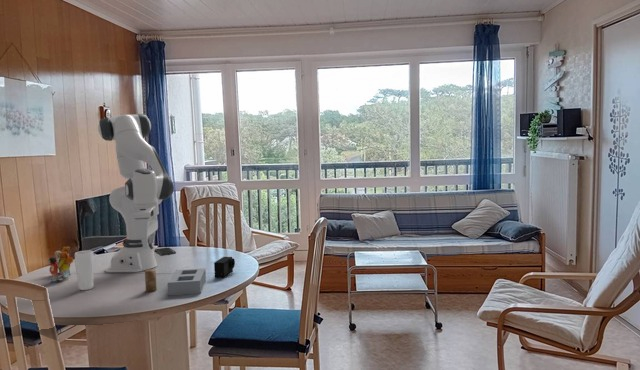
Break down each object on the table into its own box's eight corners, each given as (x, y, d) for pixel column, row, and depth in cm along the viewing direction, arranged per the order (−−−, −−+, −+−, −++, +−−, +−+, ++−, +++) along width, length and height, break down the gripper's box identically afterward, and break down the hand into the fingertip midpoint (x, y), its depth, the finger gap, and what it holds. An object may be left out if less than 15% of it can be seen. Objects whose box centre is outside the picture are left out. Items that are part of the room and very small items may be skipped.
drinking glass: (83, 292, 176) (80, 254, 175) (73, 289, 180) (70, 253, 178) (99, 287, 182) (96, 251, 181) (89, 285, 185) (87, 249, 184)
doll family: (57, 272, 206) (55, 244, 205) (80, 270, 209) (78, 242, 208) (48, 285, 186) (46, 254, 185) (74, 282, 190) (72, 252, 189)
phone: (168, 247, 251) (176, 252, 238) (168, 249, 251) (176, 254, 239) (154, 249, 247) (161, 254, 234) (154, 251, 247) (161, 256, 234)
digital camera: (226, 278, 190) (226, 262, 190) (214, 278, 191) (214, 262, 191) (235, 271, 201) (234, 256, 200) (224, 271, 202) (223, 256, 201)
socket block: (168, 295, 170) (167, 282, 169) (176, 281, 188) (176, 269, 187) (200, 293, 171) (199, 280, 171) (205, 279, 189) (205, 268, 189)
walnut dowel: (144, 292, 174) (143, 272, 174) (147, 289, 178) (146, 269, 178) (155, 291, 175) (154, 271, 174) (157, 288, 179) (156, 268, 178)
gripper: (144, 207, 184) (146, 240, 185) (131, 214, 163) (133, 251, 165) (160, 206, 184) (162, 239, 186) (148, 213, 164) (151, 250, 165)
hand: (148, 245), depth 175 cm, fingers open, 8 cm apart
